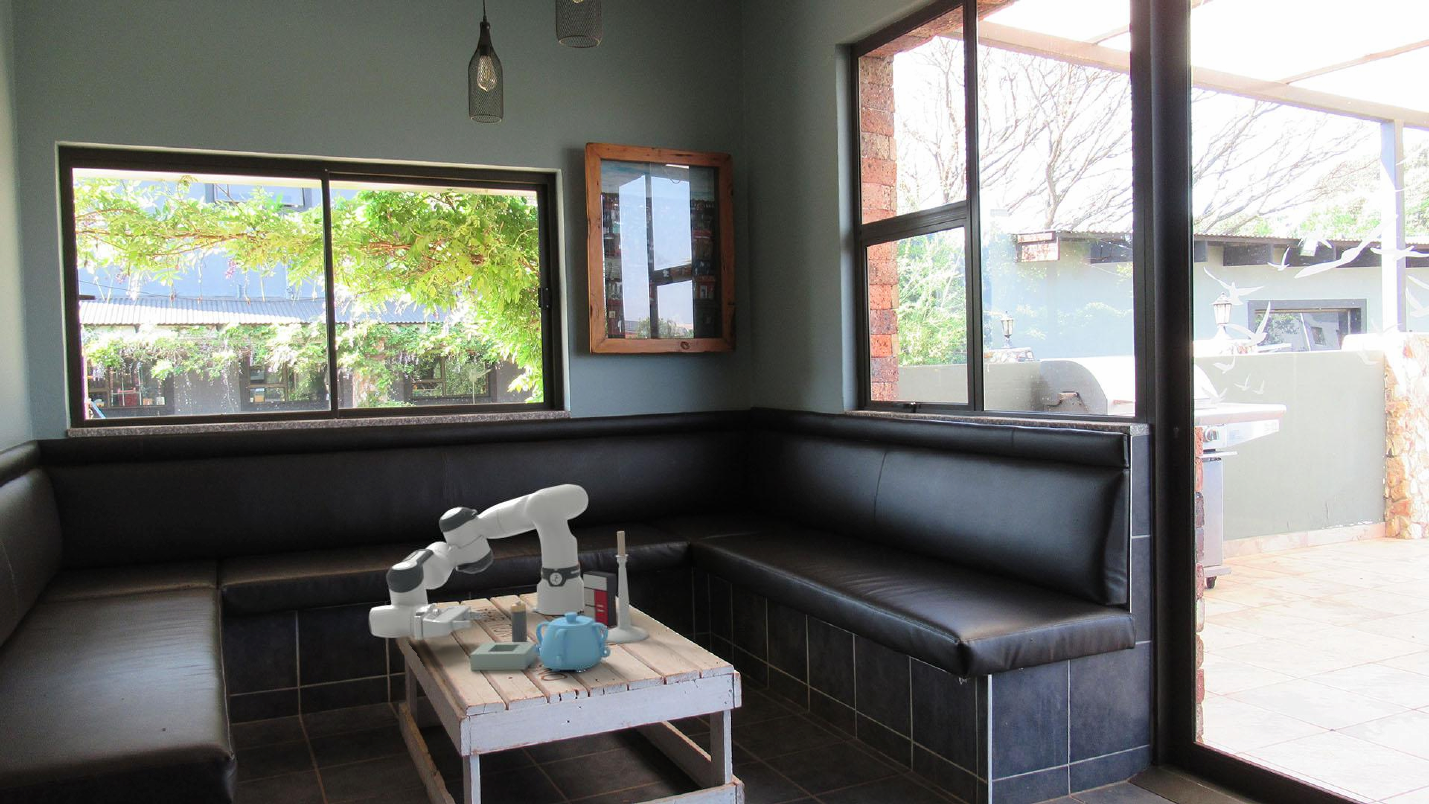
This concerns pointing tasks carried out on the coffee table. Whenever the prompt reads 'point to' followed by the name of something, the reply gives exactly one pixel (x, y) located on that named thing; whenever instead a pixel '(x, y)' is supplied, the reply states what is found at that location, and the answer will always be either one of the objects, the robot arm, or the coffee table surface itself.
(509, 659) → the block
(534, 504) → the robot arm
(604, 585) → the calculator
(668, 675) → the coffee table surface
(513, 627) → the battery cell
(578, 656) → the decorative pot
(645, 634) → the candlestick
